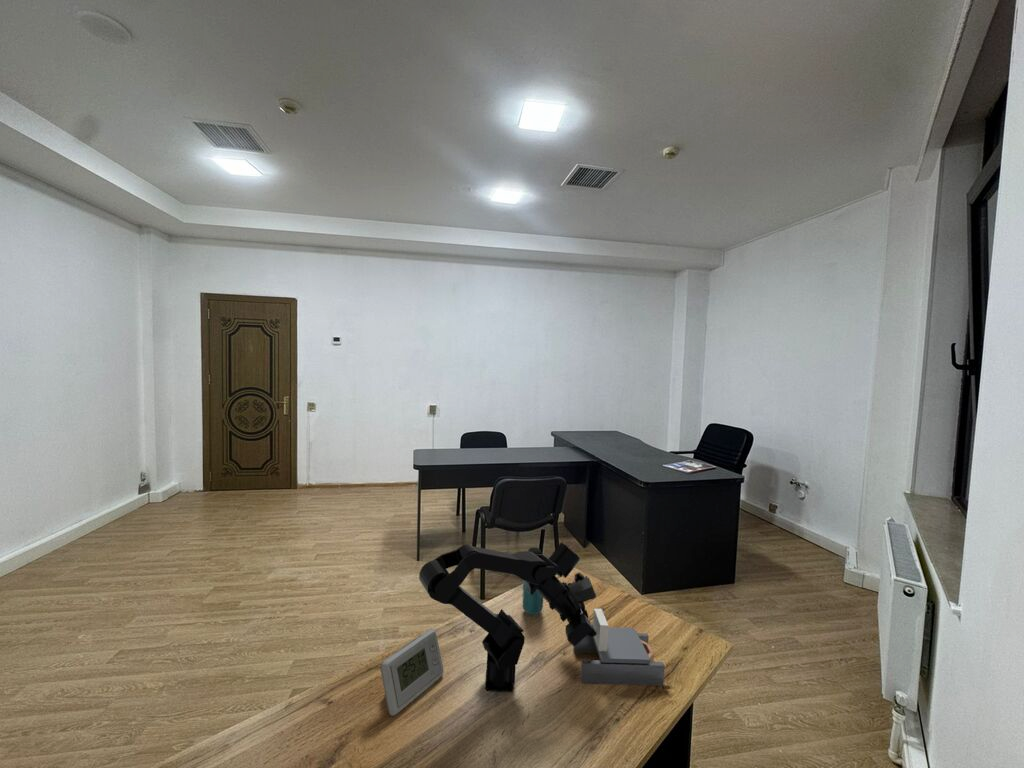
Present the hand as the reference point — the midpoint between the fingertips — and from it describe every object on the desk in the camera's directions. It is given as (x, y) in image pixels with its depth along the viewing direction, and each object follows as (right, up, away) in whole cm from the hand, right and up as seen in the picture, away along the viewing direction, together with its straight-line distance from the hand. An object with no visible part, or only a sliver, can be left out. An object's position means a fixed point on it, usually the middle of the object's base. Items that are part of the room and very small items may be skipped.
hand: (594, 634), depth 105 cm
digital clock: (-44, -7, -10) cm, 46 cm away
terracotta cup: (+10, -9, 0) cm, 14 cm away
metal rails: (+5, -8, 0) cm, 10 cm away
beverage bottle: (-15, -7, +22) cm, 27 cm away
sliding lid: (+6, -3, 0) cm, 7 cm away
